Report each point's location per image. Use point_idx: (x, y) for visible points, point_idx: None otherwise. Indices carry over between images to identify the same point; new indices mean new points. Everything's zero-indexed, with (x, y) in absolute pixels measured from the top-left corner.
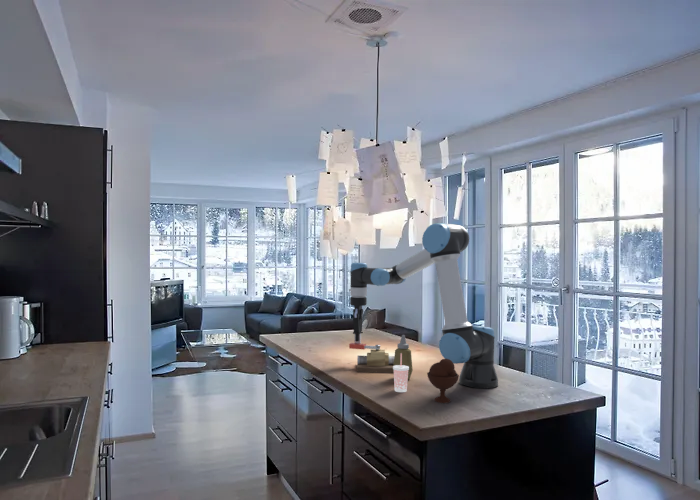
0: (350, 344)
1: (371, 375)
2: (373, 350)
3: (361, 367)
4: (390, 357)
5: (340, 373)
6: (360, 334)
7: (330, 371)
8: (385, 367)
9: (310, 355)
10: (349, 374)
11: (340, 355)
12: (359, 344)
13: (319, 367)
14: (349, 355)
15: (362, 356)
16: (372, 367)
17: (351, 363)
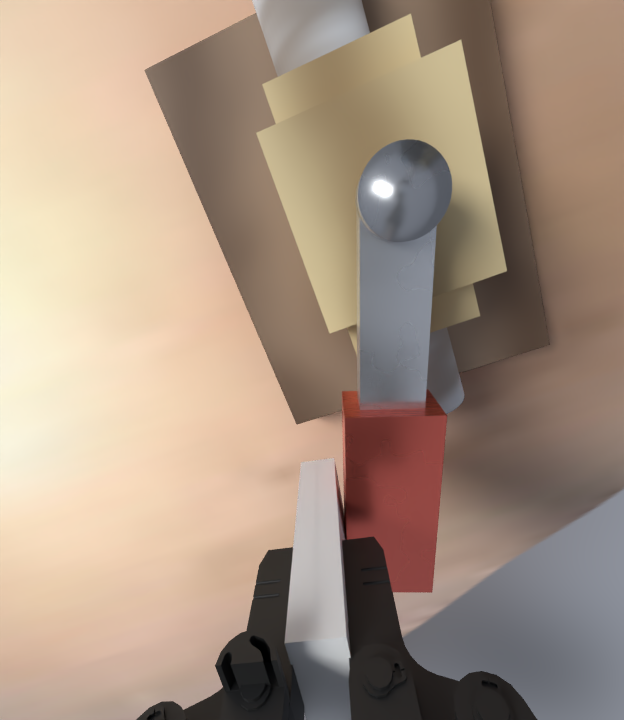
0: (431, 575)
1: (620, 184)
2: None
3: (542, 310)
4: (354, 27)
5: (603, 421)
6: (337, 629)
7: (560, 493)
8: (484, 84)
9: (204, 696)
10: (620, 357)
11: (104, 582)
12: (421, 483)
13: (471, 576)
14: (68, 541)
15: (439, 367)
16: (520, 216)
17: (281, 457)
